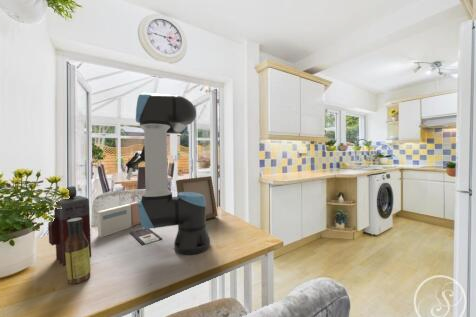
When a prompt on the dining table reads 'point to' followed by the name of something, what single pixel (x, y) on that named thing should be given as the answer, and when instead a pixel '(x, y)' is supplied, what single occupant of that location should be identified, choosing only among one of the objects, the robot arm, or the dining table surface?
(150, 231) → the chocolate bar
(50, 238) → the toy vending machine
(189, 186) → the photo frame
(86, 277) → the sauce bottle
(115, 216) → the white slotted box
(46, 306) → the dining table surface
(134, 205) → the stub
